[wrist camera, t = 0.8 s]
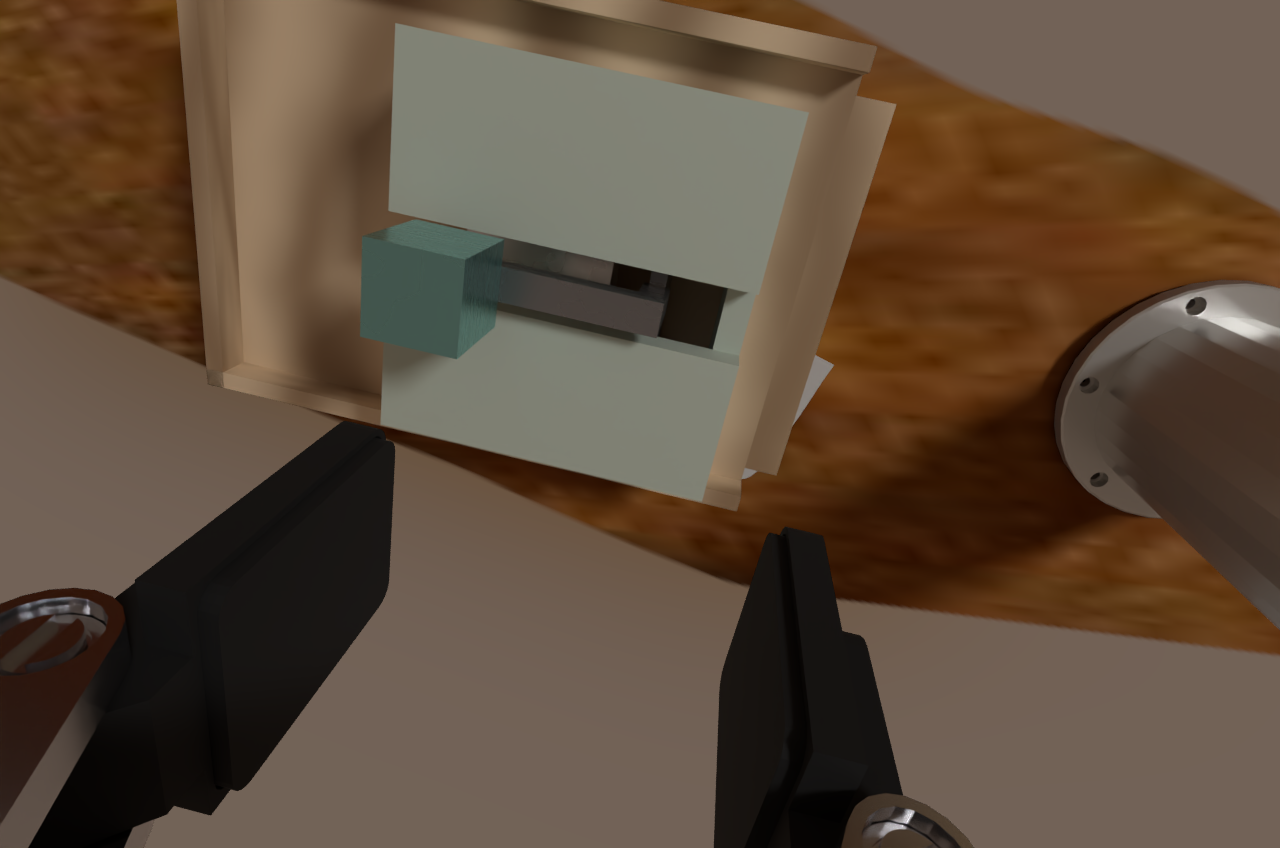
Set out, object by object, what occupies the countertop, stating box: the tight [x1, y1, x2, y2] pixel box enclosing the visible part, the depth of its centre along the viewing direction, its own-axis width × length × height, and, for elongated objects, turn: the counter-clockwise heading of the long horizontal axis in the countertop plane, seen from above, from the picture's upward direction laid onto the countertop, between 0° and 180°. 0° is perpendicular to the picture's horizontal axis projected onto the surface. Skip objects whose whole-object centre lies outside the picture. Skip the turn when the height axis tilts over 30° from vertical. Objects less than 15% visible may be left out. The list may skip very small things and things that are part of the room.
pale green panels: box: [381, 23, 809, 502], centre depth 26 cm, size 13×14×6 cm
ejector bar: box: [360, 219, 673, 359], centre depth 24 cm, size 8×10×10 cm
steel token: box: [467, 229, 620, 286], centre depth 28 cm, size 6×6×2 cm
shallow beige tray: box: [177, 0, 896, 511], centre depth 32 cm, size 27×19×8 cm
